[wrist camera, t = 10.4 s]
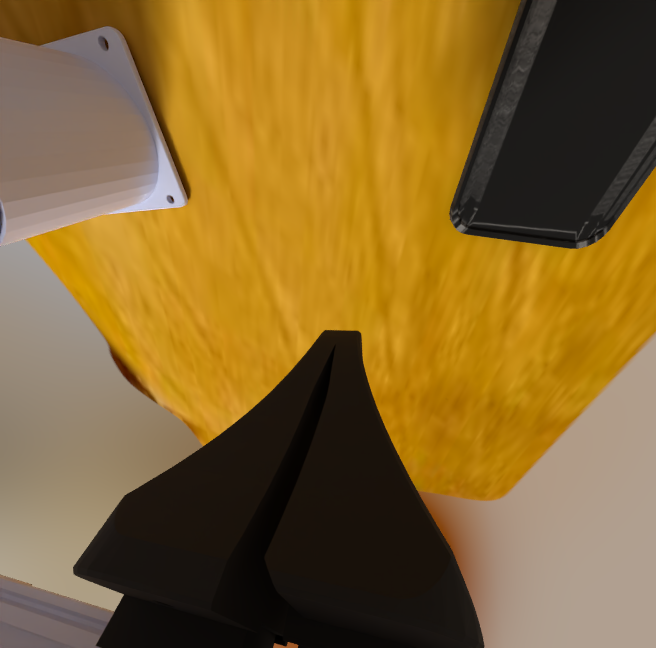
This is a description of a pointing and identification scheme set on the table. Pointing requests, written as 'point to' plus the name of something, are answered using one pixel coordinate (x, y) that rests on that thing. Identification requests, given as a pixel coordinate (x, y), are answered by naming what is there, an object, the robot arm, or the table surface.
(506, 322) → the table surface
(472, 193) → the phone
